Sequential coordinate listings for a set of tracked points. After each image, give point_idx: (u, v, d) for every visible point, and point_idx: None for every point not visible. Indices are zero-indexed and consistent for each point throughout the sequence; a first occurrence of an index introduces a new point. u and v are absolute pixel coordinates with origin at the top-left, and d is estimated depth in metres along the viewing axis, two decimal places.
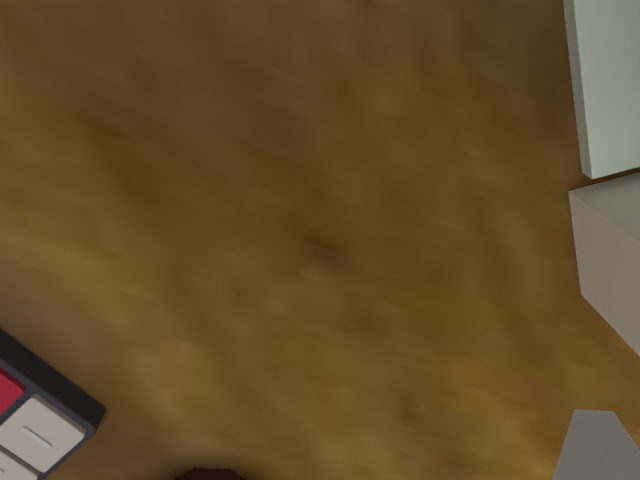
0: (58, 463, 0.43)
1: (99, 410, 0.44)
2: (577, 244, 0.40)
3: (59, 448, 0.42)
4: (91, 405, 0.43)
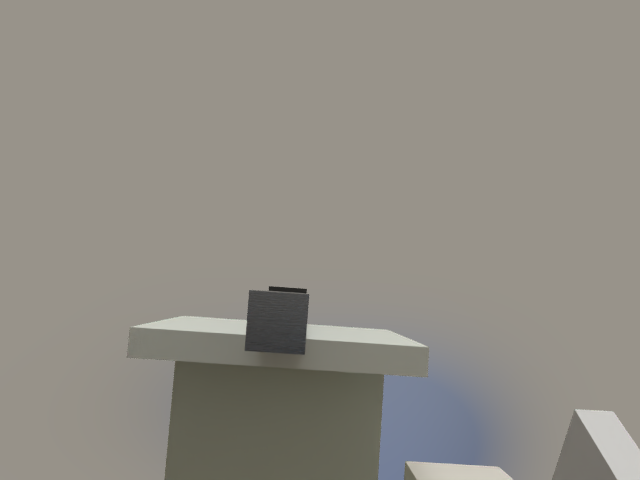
0: None
1: None
2: None
3: None
4: None
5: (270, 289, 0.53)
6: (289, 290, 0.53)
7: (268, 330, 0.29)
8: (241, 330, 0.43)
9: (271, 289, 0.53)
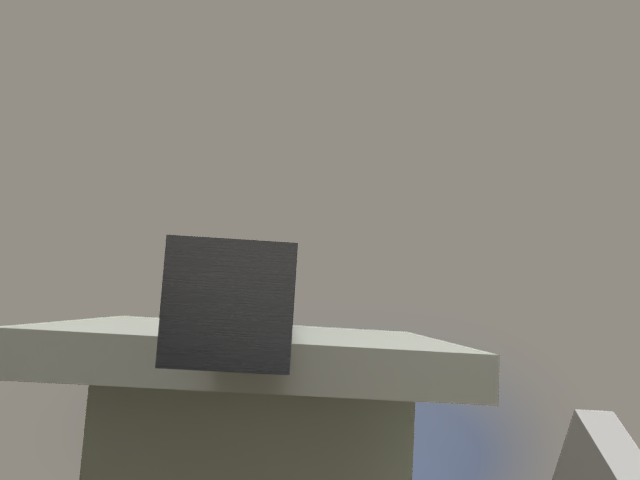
0: None
1: None
2: None
3: None
4: None
5: None
6: None
7: (207, 322, 0.13)
8: None
9: None
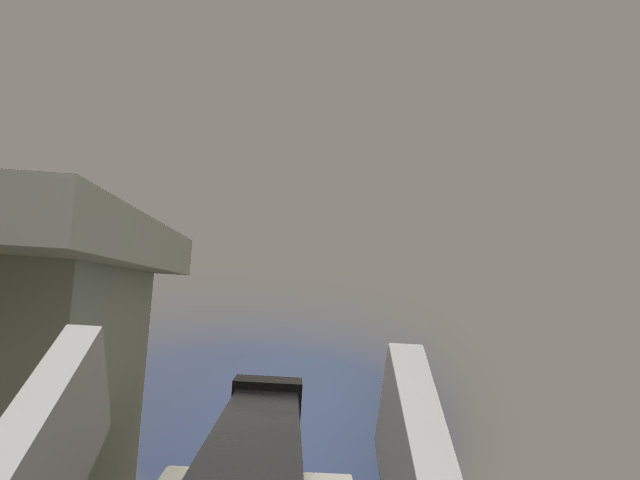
0: None
1: None
2: None
3: None
4: None
5: (235, 386, 0.28)
6: (270, 387, 0.28)
7: None
8: None
9: (236, 386, 0.28)
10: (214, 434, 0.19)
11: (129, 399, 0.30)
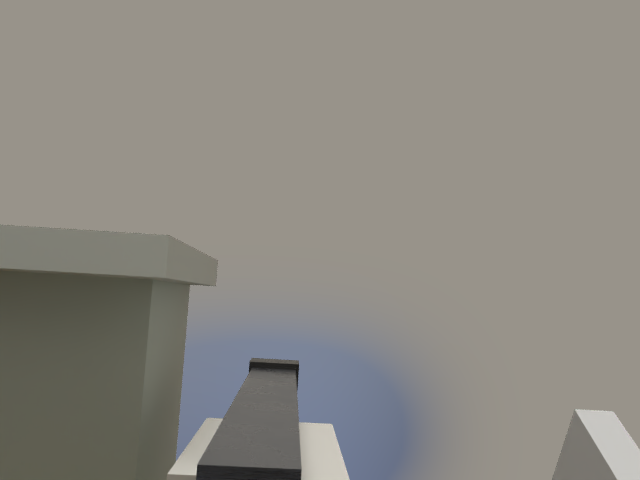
0: None
1: None
2: None
3: None
4: None
5: (251, 365, 0.40)
6: (276, 366, 0.40)
7: None
8: None
9: (252, 365, 0.40)
10: (243, 388, 0.31)
11: (175, 375, 0.42)
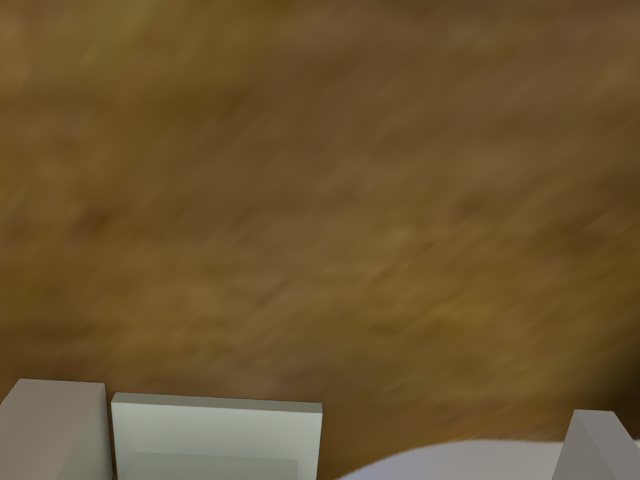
0: None
1: None
2: (62, 384, 0.55)
3: None
4: None
5: None
6: None
7: None
8: None
9: None
10: None
11: None
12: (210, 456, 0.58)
